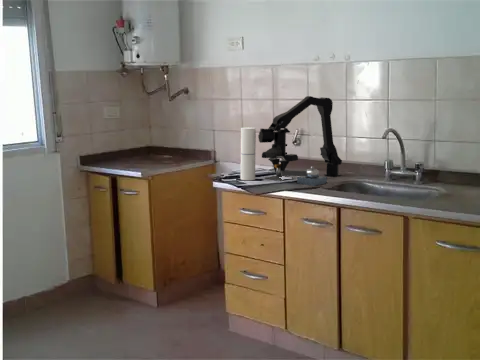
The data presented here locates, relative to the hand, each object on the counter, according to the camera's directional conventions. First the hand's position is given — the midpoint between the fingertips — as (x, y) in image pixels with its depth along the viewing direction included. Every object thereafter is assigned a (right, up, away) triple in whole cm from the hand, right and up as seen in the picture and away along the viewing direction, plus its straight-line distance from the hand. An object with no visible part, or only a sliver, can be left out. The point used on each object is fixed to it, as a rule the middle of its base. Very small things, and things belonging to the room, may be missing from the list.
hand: (279, 173), depth 283 cm
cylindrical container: (-16, -3, -2) cm, 16 cm away
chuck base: (+15, -5, -12) cm, 19 cm away
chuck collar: (+9, -1, -13) cm, 15 cm away
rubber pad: (0, -2, 0) cm, 3 cm away
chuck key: (0, -1, 0) cm, 1 cm away
